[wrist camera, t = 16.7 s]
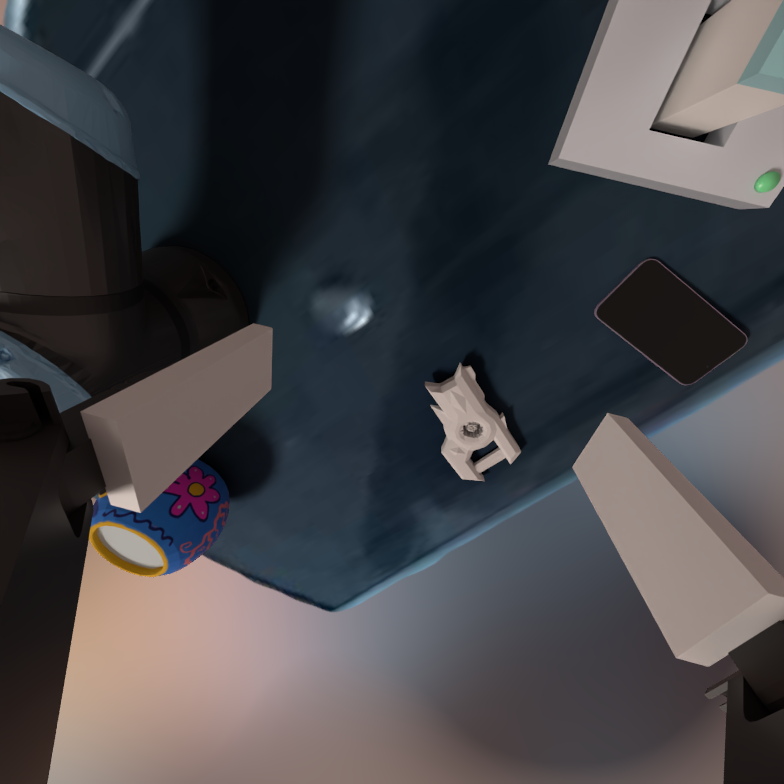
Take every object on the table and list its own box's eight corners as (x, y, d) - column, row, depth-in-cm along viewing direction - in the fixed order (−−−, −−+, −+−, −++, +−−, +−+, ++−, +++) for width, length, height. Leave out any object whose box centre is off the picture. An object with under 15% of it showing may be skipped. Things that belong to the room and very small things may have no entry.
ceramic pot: (159, 418, 51) (61, 483, 38) (259, 467, 53) (199, 546, 40) (147, 483, 59) (63, 556, 46) (234, 524, 61) (178, 605, 48)
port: (548, 164, 29) (560, 157, 26) (634, -68, 23) (663, -113, 20) (739, 209, 29) (773, 207, 26) (884, -14, 22) (952, -52, 19)
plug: (647, 127, 27) (758, 72, 18) (693, 30, 24) (856, -98, 15) (692, 137, 27) (829, 89, 18) (744, 41, 24) (941, -80, 15)
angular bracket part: (399, 404, 40) (470, 365, 36) (401, 390, 43) (467, 353, 39) (469, 493, 46) (535, 467, 43) (466, 476, 49) (528, 450, 46)
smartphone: (651, 253, 31) (753, 340, 33) (645, 252, 32) (744, 336, 34) (590, 313, 35) (686, 389, 36) (586, 311, 36) (680, 385, 37)
